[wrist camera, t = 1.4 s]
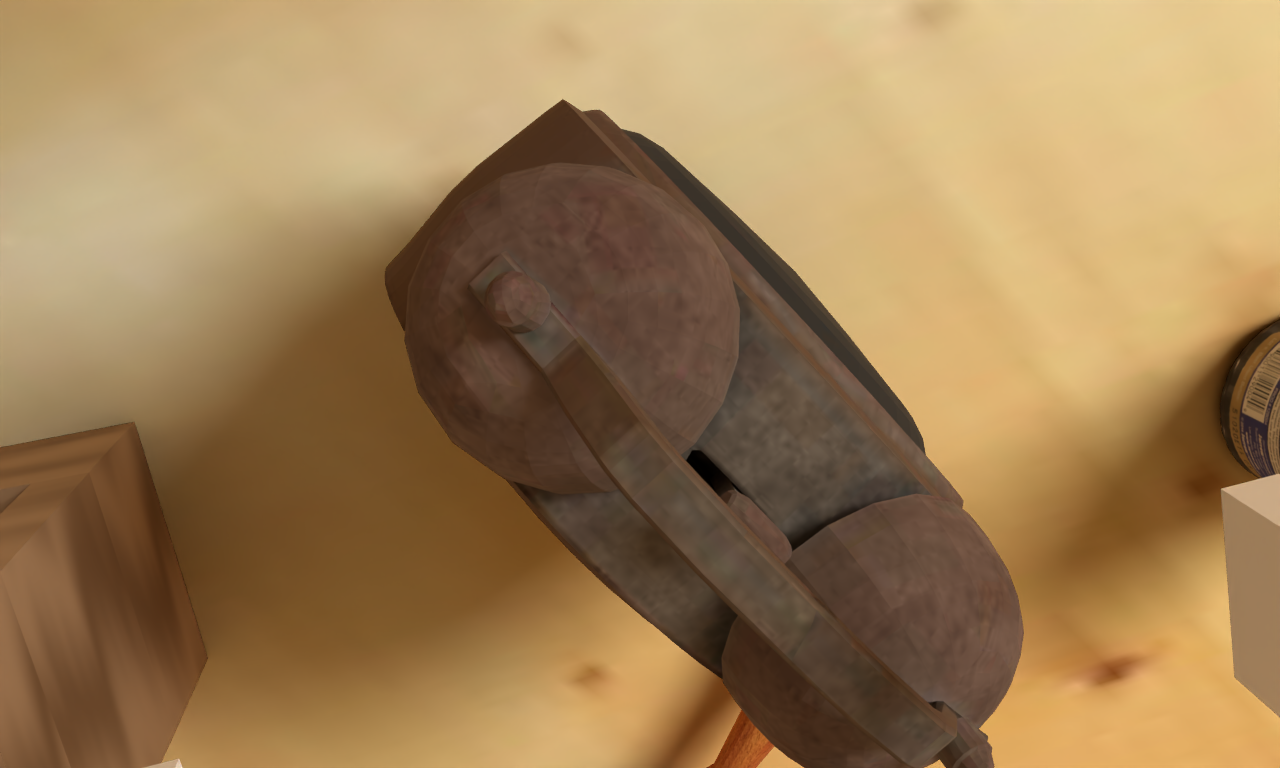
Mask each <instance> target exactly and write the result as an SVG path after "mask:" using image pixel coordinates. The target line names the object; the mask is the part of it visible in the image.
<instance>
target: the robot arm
mask: <svg viewBox="0 0 1280 768" xmlns="http://www.w3.org/2000/svg"><path fill="white" fill-rule="evenodd" d="M1221 500H1222V513H1223V527H1224V541H1225V554H1226V568H1227V582H1228V595H1229V609H1230V623H1231V636H1232V650H1233V664H1234V677H1235V678H1236V679H1237V680H1238V681H1239V682H1240V683H1241V684H1243V685H1244V686H1245V687H1246V688H1247V689H1248V690H1249V691H1251V692H1252V693H1253V694H1254V695H1255V696H1256V697H1257V698H1258V699H1260V700H1261V701H1262V702H1263V703H1264V704H1265V705H1266V706H1267V707H1269V708H1270V709H1271V710H1272V711H1273V712H1274V713H1275V714H1277V715H1278V716H1279V717H1280V474H1276V475H1272V476H1268V477H1264V478H1260V479H1256V480H1253V481H1249V482H1245V483H1241V484H1237V485H1233V486H1229V487H1226V488H1222V489H1221ZM144 768H183V767H182V765H181V762H180V760H179V759H175V760H171V761H167V762H163V763H160V764H156V765H152V766H148V767H144Z"/></svg>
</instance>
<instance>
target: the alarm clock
mask: <svg viewBox="0 0 1280 768" xmlns="http://www.w3.org/2000/svg"><path fill="white" fill-rule="evenodd" d="M385 285H386V289H387V292H388V296H389V299H390V301H391V304H392V306H393V309H394V311H395V313H396V315H397V318H398V320H399V322H400V324H401V326H402V328H403V330H404V331H405V344H406V348H407V352H408V356H409V359H410V363H411V367H412V371H413V375H414V378H415V382H416V386H417V390H418V393H419V394H420V395H421V397H422V398H423V400H424V401H425V403H426V404H427V406H428V407H429V409H430V410H431V411H432V413H433V414H434V416H435V417H436V419H437V420H438V422H439V423H440V425H441V426H442V428H443V429H444V431H445V432H446V433H447V435H448V436H449V438H450V439H451V441H452V442H453V443H454V444H455V445H457V446H458V447H460V448H461V449H463V450H464V451H465V452H467V453H468V454H470V455H471V456H472V457H474V458H475V459H477V460H478V461H479V462H481V463H482V464H484V465H485V466H487V467H488V468H489V469H491V470H492V471H494V472H495V473H497V474H498V475H500V476H501V477H503V478H504V479H506V480H507V481H508V482H509V484H510V485H511V486H512V487H513V488H514V490H515V491H516V492H517V493H518V494H519V495H520V497H521V498H522V499H523V500H524V501H525V502H526V504H527V505H528V506H529V507H530V508H531V510H532V511H533V512H534V513H535V514H536V515H537V517H538V518H539V519H540V520H541V521H542V522H543V523H544V524H545V525H546V526H547V527H548V528H549V529H550V530H551V531H552V533H553V534H554V535H555V536H556V537H557V538H558V539H559V540H560V541H561V542H562V543H563V544H564V545H565V546H566V547H567V548H568V549H569V550H570V552H571V553H572V554H573V555H574V556H575V557H576V558H578V559H579V560H580V561H581V562H582V563H583V564H584V565H585V566H586V567H587V568H588V569H589V570H590V571H591V572H592V573H593V574H594V575H595V576H596V577H597V578H598V579H600V580H601V581H602V582H603V583H604V584H605V585H606V586H607V587H608V588H609V589H610V590H611V591H613V592H614V593H615V594H616V595H617V596H619V597H620V598H621V599H622V600H623V601H624V602H626V603H627V604H628V605H629V606H630V607H632V608H633V609H634V610H635V611H636V612H638V613H639V614H640V615H641V616H642V617H643V618H645V619H646V620H647V621H648V622H650V623H651V624H653V625H654V626H655V627H656V628H657V629H659V630H660V631H661V632H662V633H663V634H665V635H666V636H667V637H668V638H669V639H670V640H672V641H673V642H674V643H675V644H676V645H678V646H679V647H680V648H681V649H683V650H684V651H685V652H686V653H688V654H689V655H690V656H691V657H693V658H694V659H695V660H697V661H698V662H699V663H700V664H702V665H703V666H705V667H706V668H707V669H709V670H710V671H712V672H713V673H714V674H716V675H717V676H718V677H720V678H722V679H723V683H724V685H725V686H726V688H727V689H728V691H729V692H730V694H731V695H732V697H733V698H734V700H735V701H736V703H737V704H738V705H739V706H740V708H741V709H742V710H743V712H744V713H745V714H746V716H747V717H748V718H749V720H750V721H751V722H752V723H753V725H754V726H755V727H756V728H757V729H758V730H759V731H760V732H761V733H762V734H763V735H764V736H765V737H766V738H767V739H768V740H769V741H770V742H771V743H772V744H773V745H774V746H775V747H777V748H778V749H779V750H780V751H781V752H783V753H784V754H785V755H786V756H787V757H789V758H790V759H792V760H793V761H795V762H797V763H798V764H800V765H801V766H803V767H804V768H924V767H926V766H929V765H931V764H933V763H935V762H936V761H938V760H939V759H940V760H941V762H942V763H943V764H944V766H945V767H946V768H994V762H993V758H992V754H991V753H992V747H991V746H990V744H989V743H988V742H987V740H988V736H987V735H986V734H984V733H983V732H982V731H980V730H979V728H980V727H981V726H982V725H983V724H984V722H985V721H986V720H987V719H988V718H989V717H990V716H991V715H992V714H993V712H994V711H995V710H996V708H997V707H998V705H999V704H1000V702H1001V701H1002V699H1003V698H1004V696H1005V695H1006V693H1007V691H1008V689H1009V687H1010V685H1011V683H1012V680H1013V677H1014V674H1015V671H1016V668H1017V665H1018V662H1019V659H1020V655H1021V648H1022V641H1023V635H1024V631H1023V623H1022V616H1021V611H1020V605H1019V600H1018V595H1017V593H1016V590H1015V588H1014V585H1013V582H1012V580H1011V577H1010V575H1009V572H1008V569H1007V568H1006V566H1005V564H1004V563H1003V561H1002V560H1001V558H1000V556H999V555H998V553H997V551H996V550H995V548H994V547H993V545H992V543H991V542H990V540H989V538H988V537H987V536H986V534H985V533H984V532H983V531H982V529H981V528H980V527H979V526H978V525H977V523H976V522H975V521H974V520H973V518H972V517H971V516H970V515H969V514H968V513H967V512H966V511H964V510H963V509H962V507H963V500H962V498H961V496H960V495H959V494H958V493H957V491H956V490H955V489H954V488H953V486H952V485H951V484H950V483H949V482H948V480H947V479H946V478H945V477H944V476H943V475H942V474H941V472H940V471H939V470H938V469H937V468H936V467H935V465H934V464H933V463H932V462H931V461H930V460H929V459H928V457H927V456H926V454H925V448H924V442H923V438H922V436H921V434H920V432H919V430H918V428H917V426H916V424H915V422H914V420H913V418H912V416H911V415H910V414H909V412H908V411H907V409H906V408H905V406H904V405H903V404H902V402H901V401H900V400H899V399H898V397H897V396H896V395H895V394H894V392H893V391H892V390H891V389H890V387H889V386H888V385H887V384H886V382H885V381H884V380H883V379H882V377H881V376H880V375H879V374H878V372H877V371H876V370H875V368H874V367H873V366H872V365H871V363H870V362H869V361H868V360H867V358H866V357H865V356H864V355H863V353H862V352H861V351H860V350H859V348H858V347H857V346H856V345H855V343H854V342H853V341H852V340H851V338H850V337H849V336H848V334H847V333H846V332H845V331H844V330H843V328H842V327H841V326H840V325H839V324H838V322H837V321H836V320H835V319H834V318H833V316H832V315H831V314H830V313H829V312H828V310H827V309H826V308H825V307H824V306H823V304H822V303H821V302H820V301H819V300H818V298H817V297H816V296H815V295H814V294H813V292H812V291H811V290H810V289H809V288H808V286H807V285H806V284H805V283H804V282H803V280H802V279H801V278H800V277H799V276H798V274H797V273H796V272H795V271H794V270H793V269H792V268H791V267H790V266H789V265H788V264H787V263H786V262H785V261H784V260H782V259H781V258H780V257H779V256H778V255H777V254H776V253H775V252H774V251H773V250H772V249H771V248H770V247H769V246H768V245H767V244H766V243H765V242H764V241H763V240H762V239H761V238H760V237H759V236H758V235H757V234H756V233H754V232H753V231H752V230H751V229H750V228H749V227H748V226H747V225H746V224H745V223H744V222H743V221H742V220H741V219H740V218H739V217H738V216H737V215H736V214H735V213H734V212H733V211H732V210H730V209H729V208H728V207H727V206H726V205H725V204H724V203H723V202H722V201H721V200H719V199H718V198H717V197H716V196H715V195H714V194H713V193H712V192H711V191H710V190H709V189H707V188H706V187H705V186H704V185H703V184H702V183H701V182H700V181H699V180H698V179H697V178H695V177H694V176H693V175H692V174H691V173H690V172H689V171H688V170H687V169H686V168H685V167H683V166H682V165H681V164H680V163H679V162H678V161H677V160H676V159H675V158H674V157H672V156H671V155H670V154H669V153H668V152H667V151H666V150H665V149H664V148H662V147H661V146H659V145H657V144H656V143H654V142H652V141H651V140H649V139H648V138H646V137H644V136H643V135H641V134H639V133H635V132H631V131H627V130H623V129H620V128H619V127H618V126H617V125H616V124H615V123H614V122H613V121H612V120H611V119H610V118H609V117H608V116H607V115H606V114H605V113H603V112H602V111H601V110H590V111H584V112H582V111H580V110H579V109H577V108H576V107H574V106H573V105H572V104H570V103H568V102H567V101H565V100H561V101H560V102H559V103H557V104H556V105H555V106H553V107H552V108H550V109H549V110H548V111H546V112H545V113H544V114H542V115H541V116H540V117H539V118H537V119H536V120H535V121H534V122H532V123H531V124H530V125H529V126H527V127H526V128H525V129H523V130H522V131H521V132H520V133H518V134H517V135H516V136H515V137H513V138H512V139H511V140H510V141H508V142H507V143H506V144H504V145H503V146H502V147H501V148H499V149H498V150H497V151H496V152H494V153H493V154H492V155H491V156H489V157H488V158H487V159H485V160H484V161H483V162H482V163H480V164H479V165H478V166H477V167H476V168H475V169H474V170H473V171H472V172H470V173H469V174H468V175H467V176H466V177H465V178H464V179H463V180H462V181H461V182H460V183H459V184H458V185H457V186H456V187H455V188H454V189H453V190H452V191H451V192H450V193H449V194H448V195H447V197H446V198H445V199H444V200H443V202H442V203H441V204H440V205H439V206H438V208H437V209H436V210H435V211H434V213H433V214H432V215H431V216H430V218H429V219H428V220H427V221H426V222H425V224H424V225H423V226H422V227H421V229H420V230H419V231H418V232H417V233H416V235H415V236H414V237H413V238H412V240H411V241H410V242H409V243H408V244H407V246H406V247H405V248H404V249H403V250H402V251H401V252H400V253H399V254H398V255H397V256H396V257H395V258H394V259H393V260H392V262H391V263H390V264H389V265H388V266H387V268H386V271H385Z"/></svg>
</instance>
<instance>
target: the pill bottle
mask: <svg viewBox="0 0 1280 768" xmlns="http://www.w3.org/2000/svg"><path fill="white" fill-rule="evenodd" d="M1220 414H1221V418H1220V421H1221V426H1222V433H1223V436H1224V438H1225V440H1226V443H1227V446H1228V448H1229V450H1230V451H1231V453H1232V454H1233V456H1234V457H1235V459H1236V460H1237V461H1238V462H1239V463H1240V464H1241V465H1242V466H1243V467H1244V468H1245V469H1246V470H1247V471H1249V472H1250V473H1252V474H1253V475H1255V476H1256V477H1258V478H1264V477H1268V476H1272V475H1276V474H1280V320H1278V321H1276V322H1275V323H1273V324H1272V325H1271V326H1269V327H1267V328H1266V329H1265V330H1263V331H1262V332H1260V333H1259V334H1258V335H1257V336H1256V337H1255V338H1254V339H1253V340H1252V341H1251V342H1250V343H1249V344H1248V345H1247V346H1246V347H1245V348H1244V349H1243V351H1242V353H1241V354H1240V355H1239V357H1238V358H1237V359H1236V361H1235V362H1234V364H1233V366H1232V368H1231V370H1230V371H1229V374H1228V376H1227V379H1226V384H1225V386H1224V388H1223V392H1222V397H1221V403H1220Z"/></svg>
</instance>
